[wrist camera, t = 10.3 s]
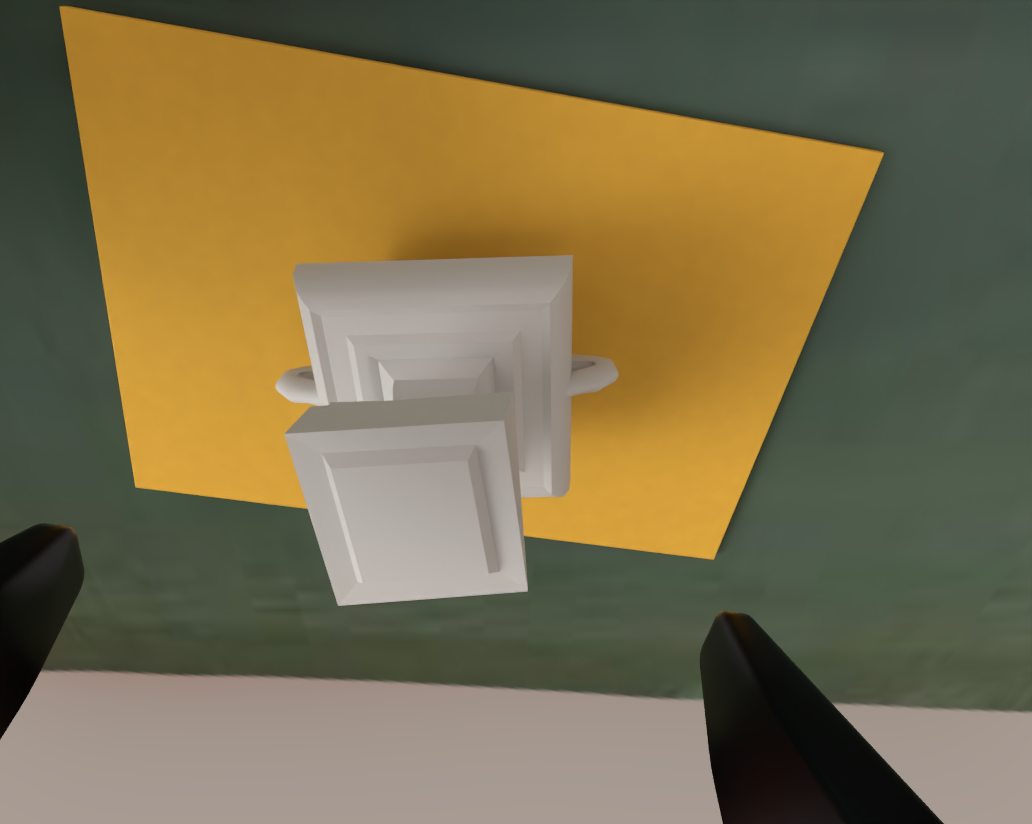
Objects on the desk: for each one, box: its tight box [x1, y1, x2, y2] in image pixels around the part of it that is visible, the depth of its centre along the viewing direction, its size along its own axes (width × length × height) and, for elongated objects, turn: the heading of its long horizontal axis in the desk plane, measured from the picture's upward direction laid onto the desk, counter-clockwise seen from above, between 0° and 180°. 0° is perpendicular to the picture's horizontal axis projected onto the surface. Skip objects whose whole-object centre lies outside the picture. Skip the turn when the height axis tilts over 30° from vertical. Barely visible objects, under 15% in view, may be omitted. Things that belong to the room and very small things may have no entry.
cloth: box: [59, 6, 884, 559], centre depth 20 cm, size 20×14×1 cm
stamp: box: [276, 255, 618, 606], centre depth 16 cm, size 9×7×8 cm
